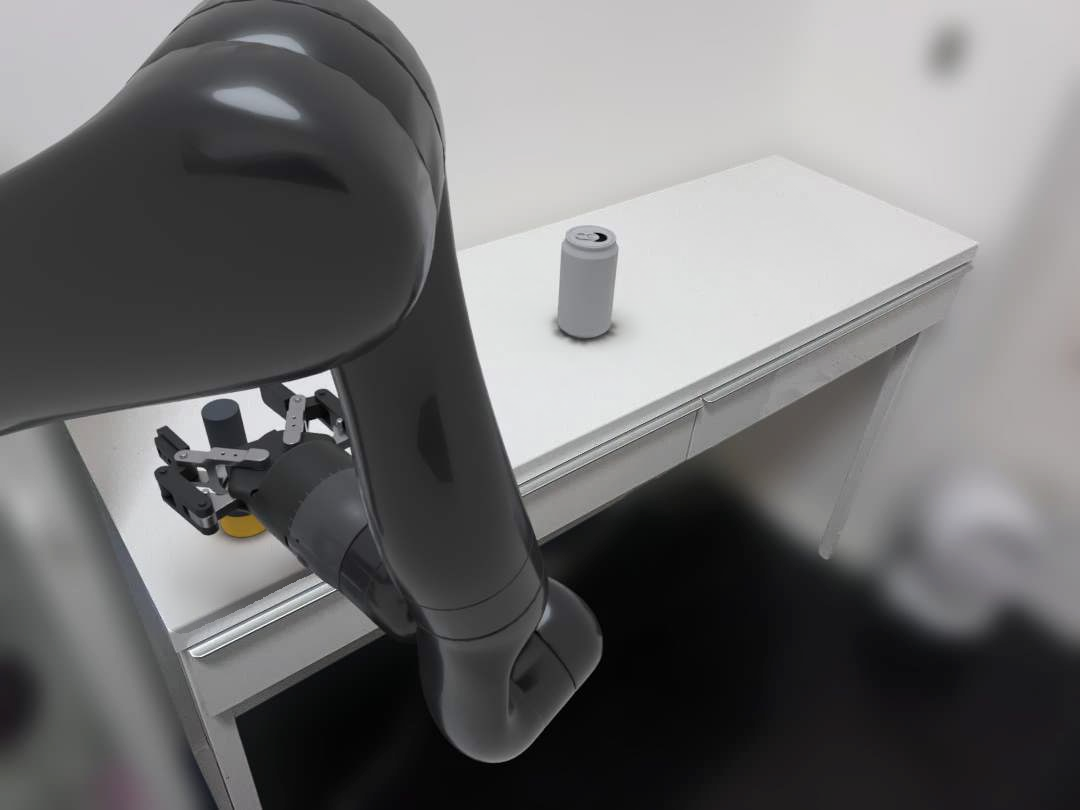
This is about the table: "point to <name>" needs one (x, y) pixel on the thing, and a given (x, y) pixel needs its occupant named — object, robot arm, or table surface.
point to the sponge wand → (230, 434)
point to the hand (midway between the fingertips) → (215, 412)
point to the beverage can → (587, 281)
